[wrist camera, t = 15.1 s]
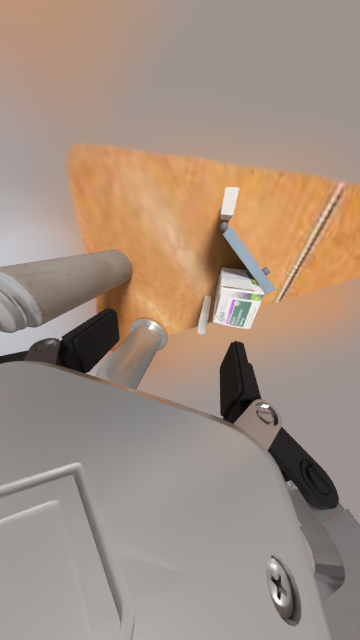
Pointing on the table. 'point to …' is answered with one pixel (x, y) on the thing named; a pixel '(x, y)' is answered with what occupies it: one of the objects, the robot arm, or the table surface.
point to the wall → (226, 214)
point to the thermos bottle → (56, 286)
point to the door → (247, 258)
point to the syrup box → (236, 298)
